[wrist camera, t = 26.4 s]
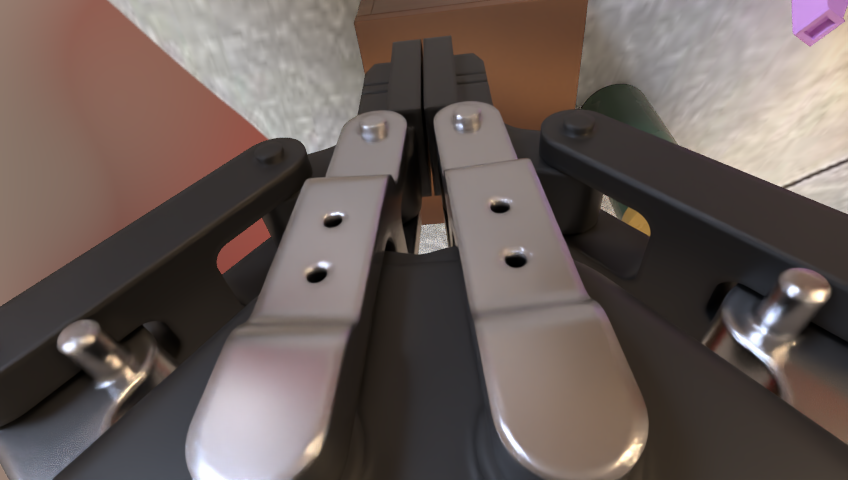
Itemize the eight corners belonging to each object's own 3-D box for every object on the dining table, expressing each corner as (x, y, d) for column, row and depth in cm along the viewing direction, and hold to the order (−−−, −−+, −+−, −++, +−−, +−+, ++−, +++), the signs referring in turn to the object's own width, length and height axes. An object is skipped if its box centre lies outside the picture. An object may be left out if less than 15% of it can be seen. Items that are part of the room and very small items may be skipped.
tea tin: (572, 147, 42) (617, 262, 32) (580, 86, 38) (634, 195, 28) (640, 141, 41) (707, 255, 31) (655, 78, 37) (738, 187, 27)
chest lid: (560, 206, 36) (562, 213, 36) (398, 220, 37) (397, 227, 37) (585, -12, 25) (589, -7, 25) (355, 16, 26) (353, 22, 26)
